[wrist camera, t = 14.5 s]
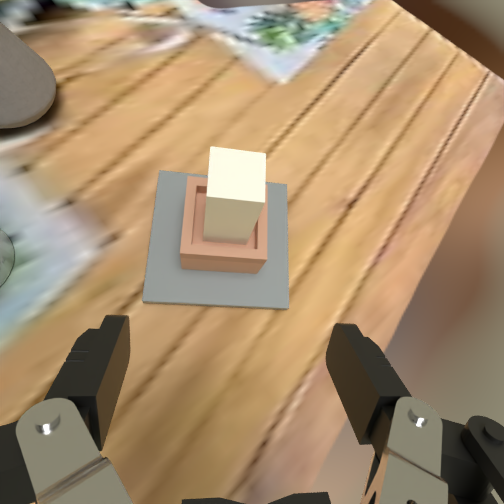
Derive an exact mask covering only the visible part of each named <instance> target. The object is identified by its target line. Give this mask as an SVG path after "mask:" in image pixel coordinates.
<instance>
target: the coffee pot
mask: <svg viewBox="0 0 504 504" xmlns="http://www.w3.org/2000/svg"><path fill="white" fill-rule="evenodd" d="M55 95H56V79H55V76H54V74H53V71H52V69H51V68H50V67H49V65H48V64H47V63H46V62H45V61H44V59H42V58H41V57H40V56H39V55H38V54H37V53H36V52H34V51H33V50H32V49H31V48H30V47H29V46H27V45H26V44H25V43H24V42H23V41H22V40H20V39H19V38H18V37H17V36H16V35H15V34H14V33H12V32H11V31H10V30H9V29H8V28H7V27H5V26H4V25H3V24H2V23H1V22H0V128H16V127H22V126H26V125H29V124H31V123H33V122H35V121H36V120H38V119H39V118H40V117H41V116H43V115H44V114H45V113H46V112H47V111H48V109H49V108H50V107H51V106H52V104H53V101H54V98H55Z"/></svg>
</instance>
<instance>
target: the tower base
mask: <svg viewBox="0 0 504 504" xmlns="http://www.w3.org/2000/svg"><path fill="white" fill-rule="evenodd" d="M207 183H208V176H207V175H198V174H189V173H180V172H171V171H162V170H159V178H158V185H157V193H156V200H155V208H154V215H153V223H152V230H151V238H150V245H149V253H148V260H147V268H146V275H145V283H144V290H143V298H142V301H143V303H156V304H176V305H196V306H216V307H237V308H257V309H277V310H287V309H289V275H288V219H287V184H279V183H270V182H265V204H264V206H263V208H262V211H261V213H260V215H259V217H258V220H257V222H256V224H255V226H254V228H253V231H252V233H251V235H250V237H249V240H248V242H247V244H246V245H242V244H230V243H219V242H207V241H203V232H204V219H205V207H206V195H207Z"/></svg>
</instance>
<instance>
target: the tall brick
mask: <svg viewBox="0 0 504 504" xmlns="http://www.w3.org/2000/svg"><path fill="white" fill-rule="evenodd" d="M265 173H266V154H265V153H258V152H250V151H242V150H235V149H227V148H219V147H210V159H209V171H208V183H207V195H206V207H205V219H204V232H203V241H207V242H219V243H230V244H242V245H246V244H247V242H248V240H249V237H250V235H251V233H252V231H253V228H254V226H255V224H256V222H257V220H258V217H259V215H260V213H261V211H262V208H263V206H264V204H265Z"/></svg>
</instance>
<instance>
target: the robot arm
mask: <svg viewBox="0 0 504 504" xmlns="http://www.w3.org/2000/svg"><path fill="white" fill-rule="evenodd" d="M13 262H14V248H13V245H12V243H11V240H10V239H9V237H8V236H7V235H6V233H4V232H3V231H2V230H1V229H0V286H1V285H2V284H3V283H4V282H5V280H6V279H7V277H8V276H9V274H10V272H11V269H12V267H13ZM129 358H130V327H129V316H127V315H106V316H105V318H104V320H103V322H102V324H101V327H100V329H88V330H87V331H86V332H84V333H83V334H82V335H81V336H80V337H78V338H77V340H76V342H75V344H74V345H73V347H72V349H71V352H70V353H69V355H68V357H67V358H66V362H64V364H63V366H62V368H61V369H60V371H59V373H58V375H57V377H56V379H55V380H54V382H53V384H52V386H51V388H50V390H49V391H48V393H47V395H46V397H45V399H44V400H43V401H42V402H40V403H38V404H36V405H34V406H33V407H31V408H30V409H29V410H27V411H26V412H25V413H24V414H23V415H22V417H21V418H20V419H19V420H18V421H16V422H13V423H10V424H7V425H3V426H0V504H30V503H33V502H35V504H133V502H132V500H131V499H130V497H129V495H128V493H127V491H126V489H125V487H124V485H123V484H122V482H121V480H120V478H119V476H118V474H117V472H116V470H115V469H114V467H113V465H112V463H111V462H110V460H109V459H108V458H107V457H105V458H103V457H102V456H101V454H100V452H99V451H102V449H103V446H104V442H105V439H106V436H107V433H108V429H109V426H110V423H111V419H112V416H113V413H114V410H115V406H116V403H117V400H118V397H119V393H120V390H121V387H122V383H123V380H124V377H125V374H126V370H127V367H128V363H129ZM326 365H327V368H328V371H329V373H330V376H331V378H332V380H333V383H334V385H335V388H336V390H337V392H338V395H339V397H340V399H341V402H342V404H343V406H344V409H345V411H346V414H347V416H348V418H349V421H350V423H351V425H352V428H353V430H354V433H355V435H356V437H357V440H358V442H359V444H360V445H364V444H372V445H373V448H374V450H375V451H374V454H373V456H372V459H371V463H370V467H369V471H368V475H367V479H366V483H365V487H364V491H363V494H362V498H361V503H360V504H498V503H497V501H496V500H495V498H494V497H493V495H492V494H491V491H492V490H493V489H495V490H496V492H497V493H498V495H499V497H500V498H501V500H502V501H503V503H504V427H503V426H502V425H500V424H499V423H497V422H496V421H494V420H492V419H489V418H487V417H483V416H473V417H471V418H470V419H469V420H468V422H467V423H466V425H462V424H459V423H455V422H452V421H448V420H444V419H441V418H440V417H439V415H438V414H437V413H436V411H435V410H434V409H433V408H432V407H431V406H429V405H428V404H427V403H425V402H423V401H421V400H419V399H417V398H413V397H412V396H411V394H410V393H409V391H408V390H407V388H406V387H405V385H404V384H403V382H402V381H401V379H400V378H399V376H398V375H397V373H396V372H395V370H394V369H393V367H391V365H390V363H389V361H388V360H387V359H386V358H385V355H384V354H383V352H382V351H381V349H380V348H379V346H378V345H377V344H375V343H374V342H373V341H372V340H371V339H370V338H368V337H364V336H363V335H362V333H361V331H360V330H359V328H358V327H357V325H355V324H343V323H336V324H335V325H334V328H333V331H332V334H331V338H330V341H329V345H328V348H327V351H326ZM182 504H244V503H240V502H236V501H232V500H227V499H223V498H203V499H184V500H182ZM268 504H331V502H330V499H329V495H328V492H319V493H318V492H317V493H298V494H292V495H289V496H286V497H284V498H281V499H279V500H276V501H273V502H271V503H268Z"/></svg>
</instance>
